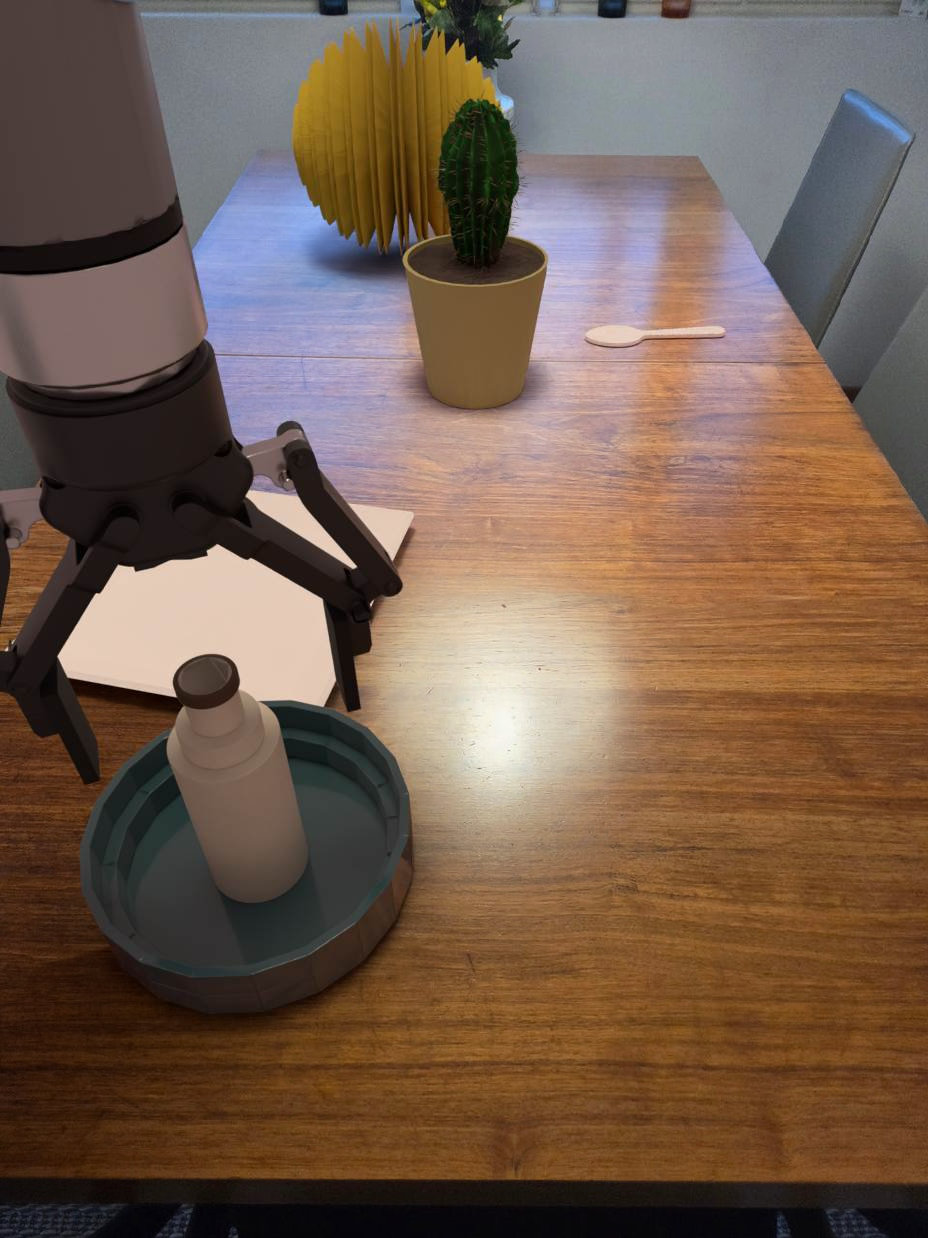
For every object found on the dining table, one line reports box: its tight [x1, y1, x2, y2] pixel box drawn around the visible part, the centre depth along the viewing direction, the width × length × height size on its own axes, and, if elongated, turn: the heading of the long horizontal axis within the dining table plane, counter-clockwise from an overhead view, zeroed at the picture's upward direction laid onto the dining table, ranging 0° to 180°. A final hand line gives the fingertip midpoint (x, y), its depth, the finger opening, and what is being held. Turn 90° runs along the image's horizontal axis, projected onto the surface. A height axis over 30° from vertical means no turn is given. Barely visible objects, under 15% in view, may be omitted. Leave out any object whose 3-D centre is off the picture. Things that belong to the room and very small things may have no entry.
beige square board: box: [4, 489, 415, 707], centre depth 74 cm, size 26×26×2 cm
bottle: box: [167, 654, 308, 903], centre depth 50 cm, size 6×6×17 cm
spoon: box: [584, 324, 726, 348], centre depth 111 cm, size 5×18×1 cm, turn 94°
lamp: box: [291, 15, 504, 258], centre depth 124 cm, size 30×30×30 cm
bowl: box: [79, 700, 414, 1015], centre depth 54 cm, size 19×19×5 cm
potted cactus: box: [402, 89, 549, 410], centre depth 92 cm, size 15×15×30 cm
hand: (224, 727), depth 47 cm, fingers open, 13 cm apart
